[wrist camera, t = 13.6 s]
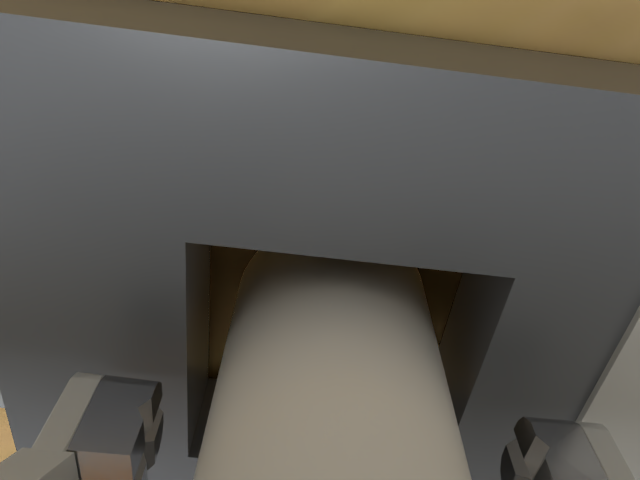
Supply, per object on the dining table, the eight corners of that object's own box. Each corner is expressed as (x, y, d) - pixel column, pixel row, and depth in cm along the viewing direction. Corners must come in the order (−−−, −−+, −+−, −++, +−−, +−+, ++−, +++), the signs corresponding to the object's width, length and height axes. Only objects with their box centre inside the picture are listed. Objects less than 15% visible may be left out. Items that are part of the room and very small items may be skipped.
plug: (463, 292, 13) (632, 775, 6) (342, 393, 15) (354, 852, 8) (316, 185, 12) (296, 649, 4) (202, 312, 14) (55, 784, 6)
